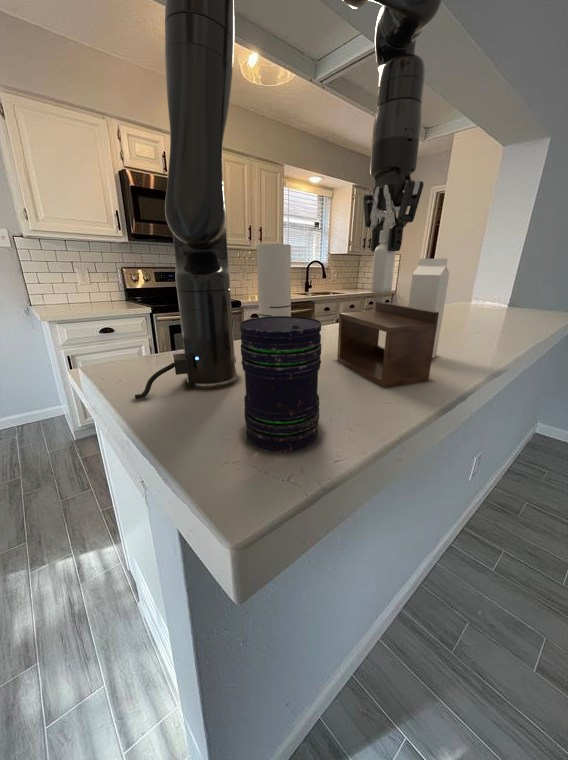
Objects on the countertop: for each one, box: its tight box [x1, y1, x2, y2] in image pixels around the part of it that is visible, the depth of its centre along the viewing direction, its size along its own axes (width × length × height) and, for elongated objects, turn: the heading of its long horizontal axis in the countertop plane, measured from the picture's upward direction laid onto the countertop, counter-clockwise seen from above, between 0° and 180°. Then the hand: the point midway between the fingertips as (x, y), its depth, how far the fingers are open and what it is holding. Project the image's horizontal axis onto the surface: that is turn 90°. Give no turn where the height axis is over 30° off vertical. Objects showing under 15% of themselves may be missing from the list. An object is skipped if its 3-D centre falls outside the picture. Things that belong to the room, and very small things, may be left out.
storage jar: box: [239, 315, 322, 454], centre depth 41 cm, size 10×10×15 cm
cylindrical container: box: [256, 243, 292, 318], centre depth 72 cm, size 7×7×25 cm
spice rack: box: [336, 301, 439, 388], centre depth 66 cm, size 10×18×13 cm, turn 20°
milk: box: [407, 258, 450, 359], centre depth 74 cm, size 6×6×22 cm
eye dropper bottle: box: [370, 222, 396, 294], centre depth 60 cm, size 4×6×12 cm
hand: (385, 251), depth 60 cm, fingers closed on eye dropper bottle, 4 cm apart
